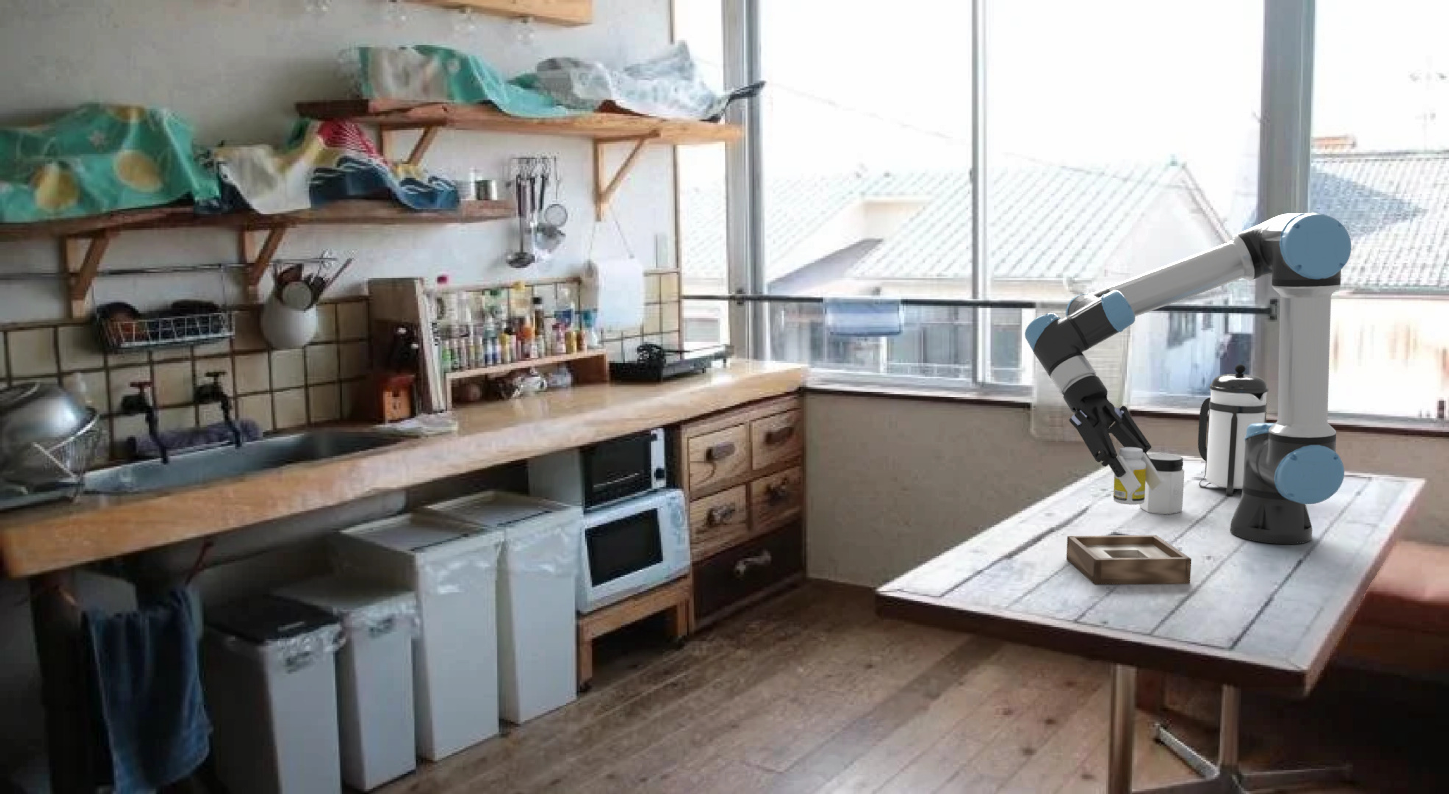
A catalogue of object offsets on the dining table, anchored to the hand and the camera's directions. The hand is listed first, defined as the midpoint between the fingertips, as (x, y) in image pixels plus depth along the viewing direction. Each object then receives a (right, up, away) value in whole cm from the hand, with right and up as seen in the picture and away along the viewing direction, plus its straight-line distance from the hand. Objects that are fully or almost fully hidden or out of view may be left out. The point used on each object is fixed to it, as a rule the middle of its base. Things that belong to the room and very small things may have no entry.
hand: (1146, 487), depth 218 cm
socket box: (-2, -16, +5) cm, 17 cm away
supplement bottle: (-2, -3, +4) cm, 5 cm away
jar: (+21, -9, +52) cm, 57 cm away
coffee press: (+44, -6, +72) cm, 85 cm away
